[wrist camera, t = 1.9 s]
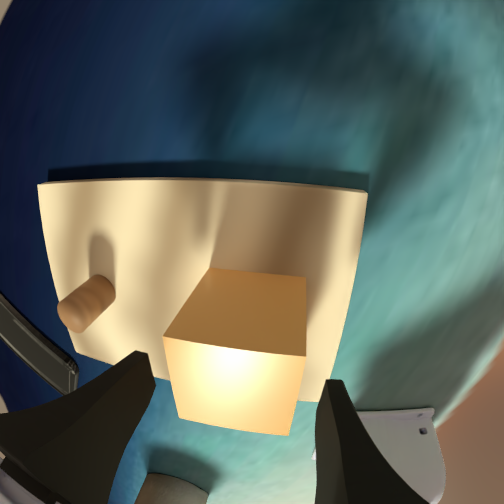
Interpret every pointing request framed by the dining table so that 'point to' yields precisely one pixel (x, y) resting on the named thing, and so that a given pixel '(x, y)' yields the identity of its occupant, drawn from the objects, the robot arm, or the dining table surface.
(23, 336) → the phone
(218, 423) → the tan foam cube
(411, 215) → the dining table surface
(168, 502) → the pillar candle
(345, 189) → the board
